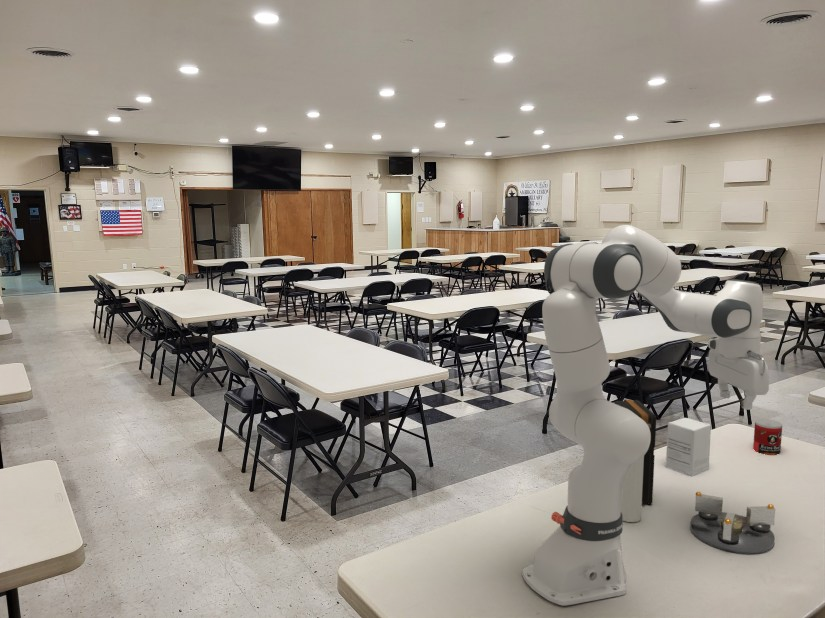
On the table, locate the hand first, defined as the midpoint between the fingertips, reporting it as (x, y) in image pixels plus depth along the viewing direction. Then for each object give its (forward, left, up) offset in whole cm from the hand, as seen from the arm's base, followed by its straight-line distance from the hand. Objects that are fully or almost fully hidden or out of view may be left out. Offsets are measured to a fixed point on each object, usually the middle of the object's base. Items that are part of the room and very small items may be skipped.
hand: (735, 403), depth 151 cm
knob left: (-4, +2, -29) cm, 30 cm away
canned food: (+52, +25, -31) cm, 66 cm away
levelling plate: (-4, -4, -31) cm, 32 cm away
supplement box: (+19, +28, -31) cm, 46 cm away
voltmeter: (-8, +24, -31) cm, 40 cm away
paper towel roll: (-19, +14, -31) cm, 39 cm away
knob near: (-10, -7, -29) cm, 32 cm away
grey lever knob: (+2, -7, -29) cm, 30 cm away
